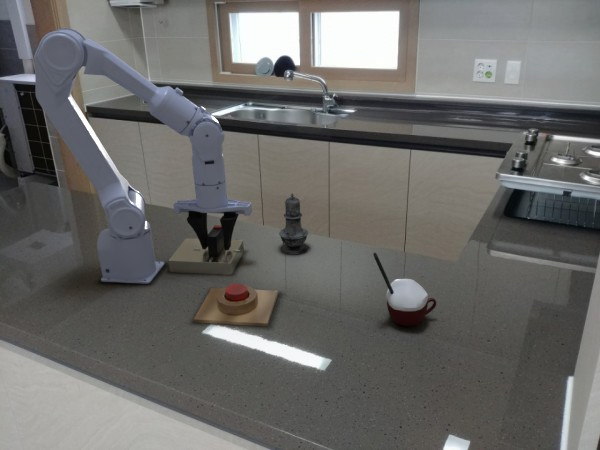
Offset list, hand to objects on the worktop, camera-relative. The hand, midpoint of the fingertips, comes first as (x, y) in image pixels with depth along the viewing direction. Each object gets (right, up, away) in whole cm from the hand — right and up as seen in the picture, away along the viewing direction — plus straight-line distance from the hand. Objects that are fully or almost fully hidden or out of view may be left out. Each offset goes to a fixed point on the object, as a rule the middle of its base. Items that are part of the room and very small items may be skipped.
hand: (216, 247), depth 104 cm
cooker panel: (-2, -3, +1) cm, 4 cm away
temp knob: (0, 0, 0) cm, 1 cm away
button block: (+6, -9, -14) cm, 18 cm away
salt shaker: (+15, -1, +6) cm, 16 cm away
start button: (+6, -8, -15) cm, 18 cm away
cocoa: (+32, -11, -19) cm, 39 cm away
